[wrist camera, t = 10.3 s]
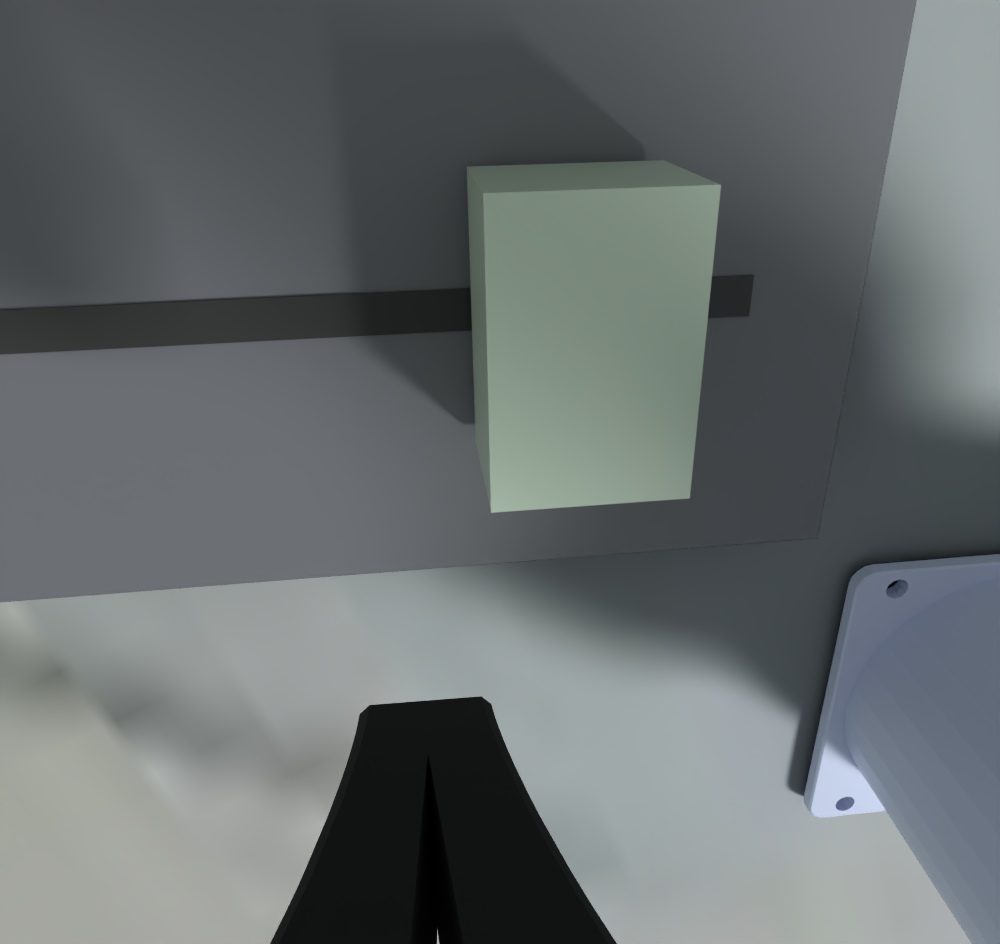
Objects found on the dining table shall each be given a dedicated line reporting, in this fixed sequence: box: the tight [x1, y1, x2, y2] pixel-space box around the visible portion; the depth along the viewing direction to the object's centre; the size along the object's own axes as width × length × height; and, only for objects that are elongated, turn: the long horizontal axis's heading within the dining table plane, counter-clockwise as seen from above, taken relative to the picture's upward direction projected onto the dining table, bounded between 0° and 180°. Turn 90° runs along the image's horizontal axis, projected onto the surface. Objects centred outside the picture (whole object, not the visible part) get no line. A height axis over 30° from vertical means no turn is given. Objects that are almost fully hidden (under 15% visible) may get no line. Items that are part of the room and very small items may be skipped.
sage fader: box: [467, 160, 721, 513], centre depth 12 cm, size 3×4×2 cm, turn 1°
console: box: [0, 0, 916, 602], centre depth 13 cm, size 18×18×2 cm
